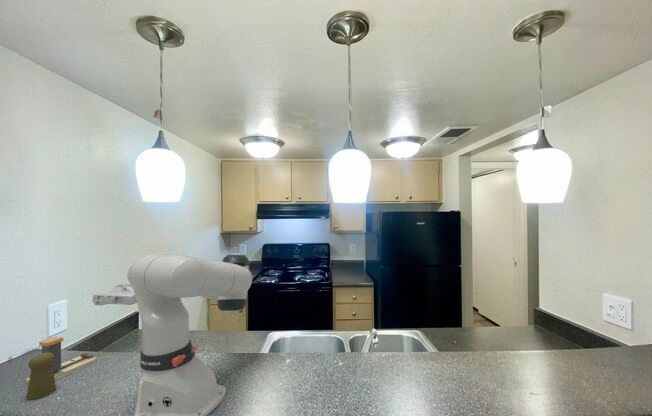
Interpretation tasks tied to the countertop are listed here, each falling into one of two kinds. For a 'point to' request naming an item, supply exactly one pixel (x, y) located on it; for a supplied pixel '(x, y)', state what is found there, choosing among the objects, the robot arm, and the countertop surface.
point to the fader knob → (53, 350)
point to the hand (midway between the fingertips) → (97, 303)
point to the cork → (41, 377)
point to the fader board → (73, 365)
